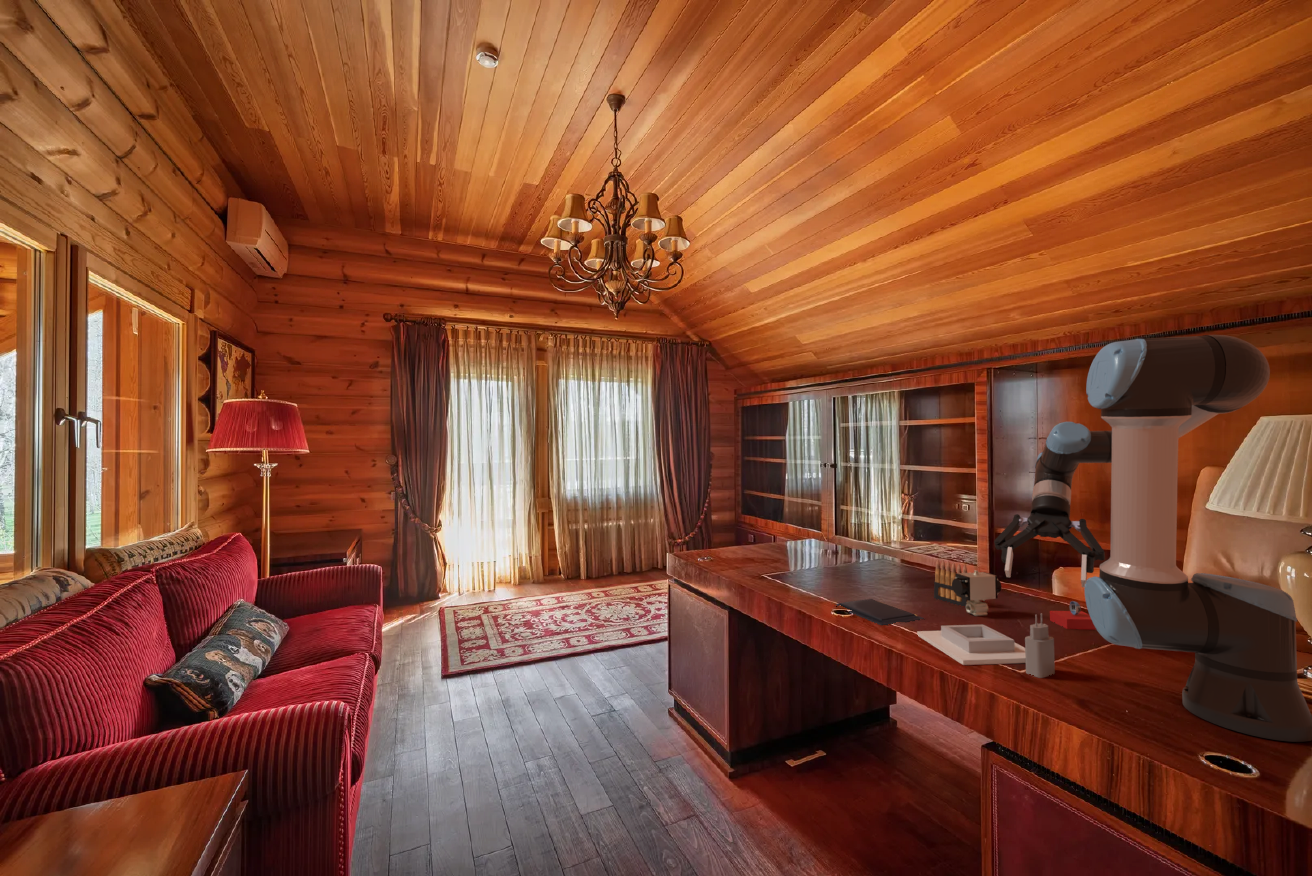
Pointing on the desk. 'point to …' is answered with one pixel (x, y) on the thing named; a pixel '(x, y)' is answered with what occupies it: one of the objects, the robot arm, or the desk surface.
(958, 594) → the pneumatic valve
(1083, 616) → the red rectangular block
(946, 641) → the holder plate
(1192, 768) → the desk surface
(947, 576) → the ammunition clip
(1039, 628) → the power adapter
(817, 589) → the desk surface
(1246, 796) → the desk surface
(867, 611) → the wallet
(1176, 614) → the robot arm
